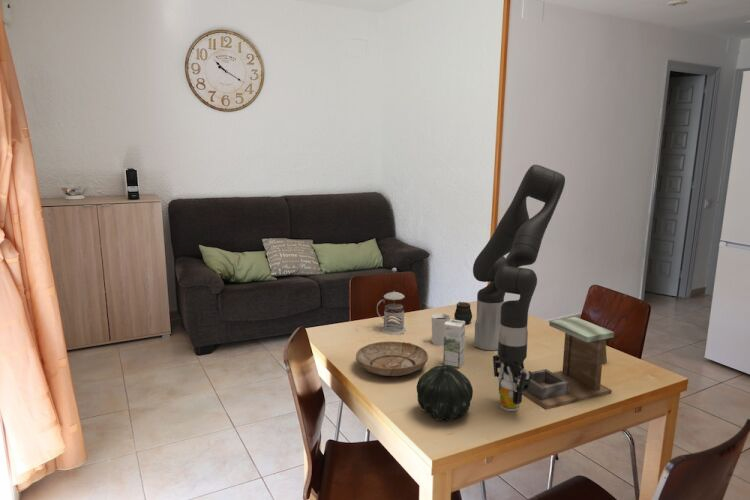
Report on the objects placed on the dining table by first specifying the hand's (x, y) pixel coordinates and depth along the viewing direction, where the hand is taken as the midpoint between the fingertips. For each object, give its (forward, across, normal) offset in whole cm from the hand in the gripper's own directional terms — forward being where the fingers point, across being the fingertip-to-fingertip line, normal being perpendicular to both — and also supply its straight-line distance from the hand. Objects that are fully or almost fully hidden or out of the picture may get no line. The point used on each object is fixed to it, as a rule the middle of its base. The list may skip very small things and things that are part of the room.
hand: (509, 398), depth 143 cm
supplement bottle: (+3, 0, 0) cm, 3 cm away
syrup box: (+3, +31, -1) cm, 31 cm away
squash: (+3, +4, +18) cm, 19 cm away
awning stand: (+2, +3, -21) cm, 22 cm away
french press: (+3, +69, +4) cm, 69 cm away
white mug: (+3, +50, -7) cm, 50 cm away
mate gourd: (+3, +65, -27) cm, 70 cm away
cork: (+3, +14, -47) cm, 49 cm away
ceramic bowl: (+3, +37, +18) cm, 41 cm away
